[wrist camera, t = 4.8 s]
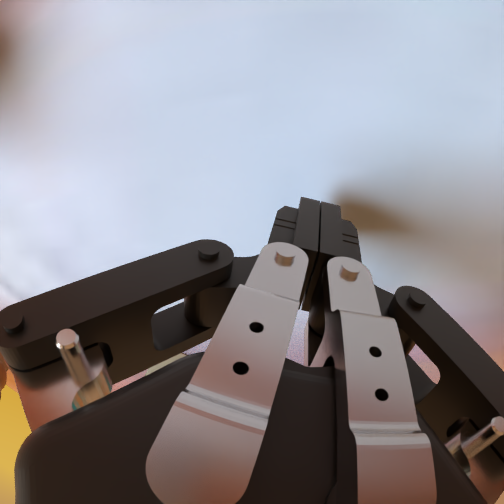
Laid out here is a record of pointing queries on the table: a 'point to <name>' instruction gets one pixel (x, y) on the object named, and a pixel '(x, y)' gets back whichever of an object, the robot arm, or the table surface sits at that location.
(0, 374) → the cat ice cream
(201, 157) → the table surface
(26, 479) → the robot arm
